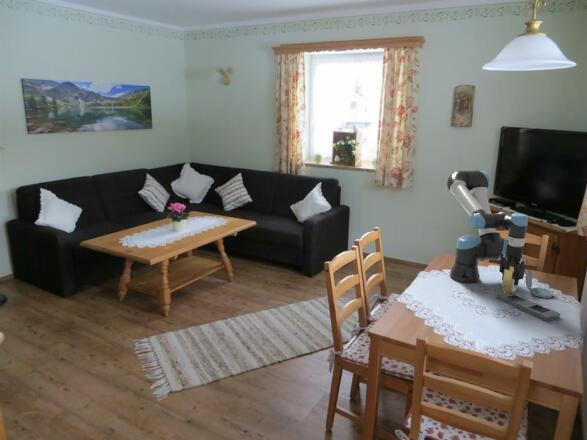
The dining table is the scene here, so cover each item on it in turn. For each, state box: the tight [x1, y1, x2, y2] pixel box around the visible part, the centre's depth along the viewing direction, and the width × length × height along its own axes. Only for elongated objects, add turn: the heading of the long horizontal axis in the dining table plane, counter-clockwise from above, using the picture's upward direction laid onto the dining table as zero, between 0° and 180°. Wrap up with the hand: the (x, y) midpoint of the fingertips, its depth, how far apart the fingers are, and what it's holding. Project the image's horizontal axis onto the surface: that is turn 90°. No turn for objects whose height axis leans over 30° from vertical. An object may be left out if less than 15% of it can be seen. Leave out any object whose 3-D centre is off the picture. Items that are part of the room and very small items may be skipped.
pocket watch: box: [525, 269, 559, 299], centre depth 213 cm, size 10×11×15 cm
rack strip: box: [495, 292, 561, 322], centre depth 199 cm, size 26×9×2 cm, turn 26°
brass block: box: [501, 267, 517, 294], centre depth 215 cm, size 4×4×12 cm
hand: (508, 288), depth 216 cm, fingers closed on brass block, 4 cm apart
